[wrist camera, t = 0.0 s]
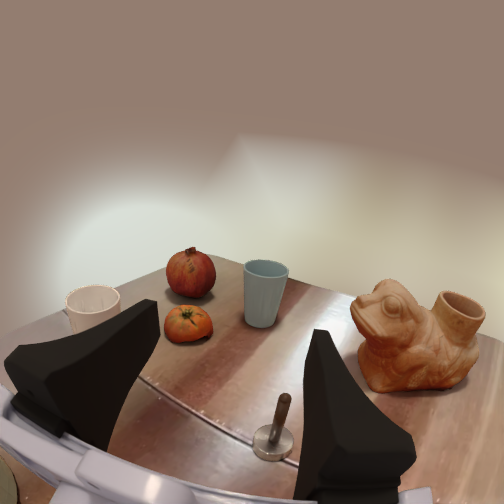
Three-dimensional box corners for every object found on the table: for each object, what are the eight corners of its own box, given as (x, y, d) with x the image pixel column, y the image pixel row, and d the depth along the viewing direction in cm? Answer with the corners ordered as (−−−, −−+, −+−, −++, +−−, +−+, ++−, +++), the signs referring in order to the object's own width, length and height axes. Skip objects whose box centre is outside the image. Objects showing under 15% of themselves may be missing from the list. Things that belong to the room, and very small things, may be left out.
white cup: (69, 359, 36) (54, 301, 33) (100, 334, 43) (92, 280, 40) (106, 380, 34) (92, 320, 31) (137, 351, 41) (131, 294, 38)
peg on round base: (289, 463, 26) (309, 414, 23) (249, 458, 26) (259, 408, 23) (292, 434, 30) (309, 382, 27) (255, 429, 30) (265, 376, 27)
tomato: (149, 327, 45) (172, 289, 47) (168, 334, 51) (189, 301, 53) (186, 354, 42) (211, 313, 44) (203, 358, 48) (224, 322, 50)
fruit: (217, 307, 57) (220, 258, 53) (166, 307, 54) (164, 258, 51) (211, 282, 66) (213, 239, 63) (166, 282, 64) (166, 239, 60)
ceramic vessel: (327, 341, 49) (348, 260, 44) (448, 345, 48) (475, 277, 43) (338, 398, 36) (372, 305, 31) (477, 390, 35) (517, 313, 30)
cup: (282, 333, 51) (292, 278, 47) (238, 330, 50) (243, 275, 47) (278, 310, 58) (285, 261, 54) (238, 308, 57) (243, 257, 54)
